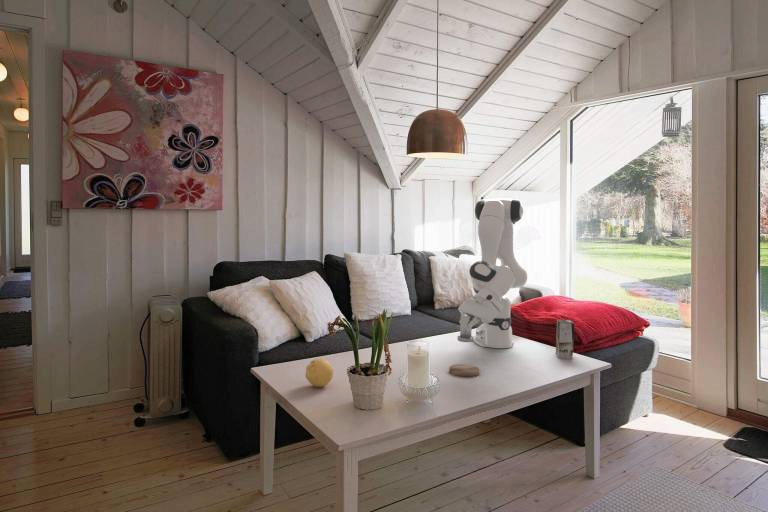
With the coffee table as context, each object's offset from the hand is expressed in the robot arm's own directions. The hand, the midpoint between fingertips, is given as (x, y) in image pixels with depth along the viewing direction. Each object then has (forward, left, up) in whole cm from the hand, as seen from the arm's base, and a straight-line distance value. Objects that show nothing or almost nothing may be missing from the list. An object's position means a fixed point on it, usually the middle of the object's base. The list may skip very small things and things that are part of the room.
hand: (464, 325), depth 202 cm
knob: (0, +1, -6) cm, 6 cm away
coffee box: (-6, +57, -19) cm, 60 cm away
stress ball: (-3, -58, -19) cm, 62 cm away
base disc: (0, +1, -19) cm, 19 cm away
